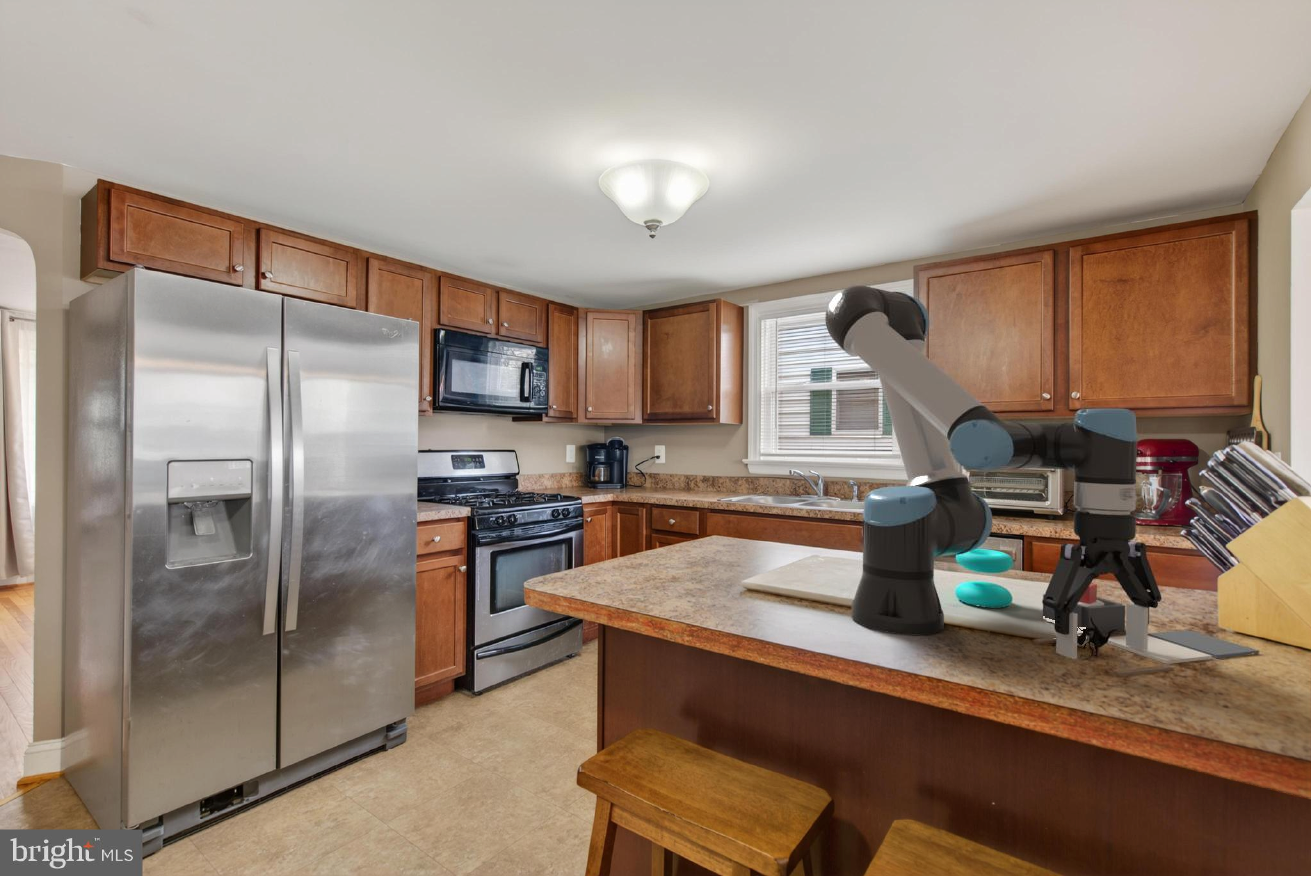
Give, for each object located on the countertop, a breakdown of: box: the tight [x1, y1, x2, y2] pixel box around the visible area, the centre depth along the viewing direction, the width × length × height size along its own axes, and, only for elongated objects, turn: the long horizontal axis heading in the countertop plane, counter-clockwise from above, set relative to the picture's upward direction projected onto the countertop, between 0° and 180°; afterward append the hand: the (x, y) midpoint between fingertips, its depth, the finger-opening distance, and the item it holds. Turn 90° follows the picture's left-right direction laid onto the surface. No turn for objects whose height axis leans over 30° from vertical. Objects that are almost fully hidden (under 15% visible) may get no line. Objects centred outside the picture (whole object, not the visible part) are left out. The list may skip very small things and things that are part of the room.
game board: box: [1032, 594, 1260, 677], centre depth 100 cm, size 30×23×4 cm
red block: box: [1078, 582, 1104, 607], centre depth 107 cm, size 6×6×6 cm
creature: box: [1052, 617, 1118, 661], centre depth 94 cm, size 8×5×8 cm
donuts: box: [954, 548, 1014, 608], centre depth 121 cm, size 10×10×10 cm
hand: (1102, 652), depth 92 cm, fingers open, 13 cm apart
